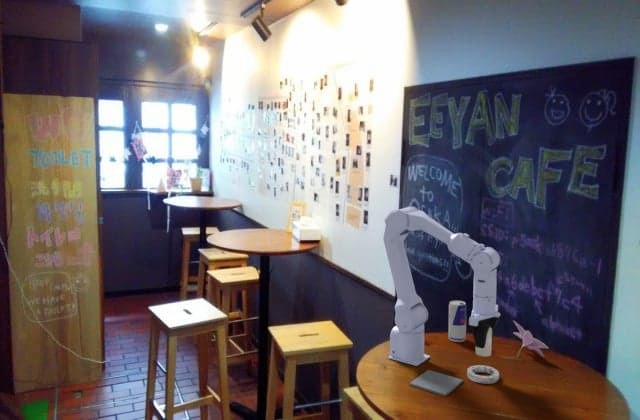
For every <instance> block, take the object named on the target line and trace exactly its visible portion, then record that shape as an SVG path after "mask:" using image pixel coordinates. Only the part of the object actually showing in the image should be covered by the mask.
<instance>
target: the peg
mask: <svg viewBox="0 0 640 420" xmlns="http://www.w3.org/2000/svg"><path fill="white" fill-rule="evenodd" d="M492 341H493V338H492V328H491V327H490V328H489V330H488V333H487V337H486V344H485V347H484V348H479V347H476V346H475V354H476V356H479V357H483V358H484V357H490V356H492Z"/></svg>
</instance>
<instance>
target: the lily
mask: <svg viewBox="0 0 640 420" xmlns="http://www.w3.org/2000/svg"><path fill="white" fill-rule="evenodd" d="M512 322H513V324H514V325H515V327H517V330H518V331H517V332H516V331H514V332H513V334H514V335H515V336H517V337H518V338H520V339H521V341H522V345H521V347H520V349H519V351H518V352H517V356H516V359H518V357H519V355H520V353H521V352H522V349H523V348H524V347H527V348H528V349H529V350H535V351H536V352H538V354H540V355H541V356H542V357H543V358H544V357H545V355H544V353H543V351H542V350H541V349H548V350H549V347H548V346H547V345H546V344H545V343H544V342H542V341H541V340H539V339H538V338H534V337H533V334H532V332H531V331H529V330H526V329H524V327H523V326H522V325H520V324H519V323H518V322H517V321H516V320H512Z"/></svg>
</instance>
